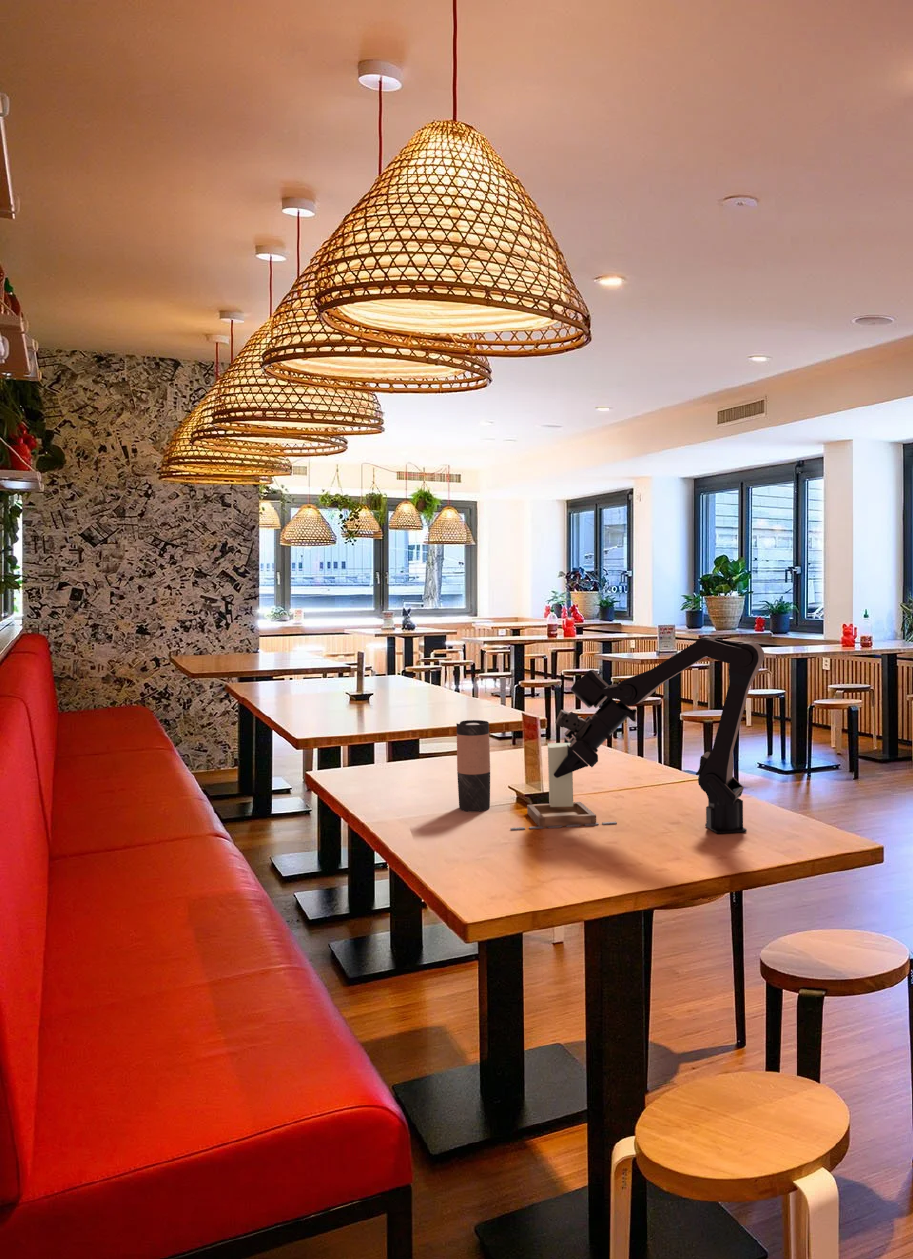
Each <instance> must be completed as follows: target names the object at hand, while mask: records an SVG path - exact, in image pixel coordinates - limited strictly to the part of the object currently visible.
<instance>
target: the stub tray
mask: <svg viewBox="0 0 913 1259" xmlns="http://www.w3.org/2000/svg"><path fill="white" fill-rule="evenodd" d="M526 809H527V810H526V811H527V812H526V814H527V815H528V816H529V817H530V819H531V820H532V821H533V822H534V823H535V824H536V826H543V827H544V828H548V826H555V825H562V827H566V825H571V824H580V826H584V824H588V823H597V814H595V813H594V811H592V810H591V809H589V808H588V807H587V806H586V805H585V804H584V803H583V802H582V801H575V802H574V801H573V807H550V803H537V804H534V803H533V804H527V805H526ZM544 828H543V829H544Z"/></svg>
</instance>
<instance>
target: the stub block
mask: <svg viewBox="0 0 913 1259" xmlns="http://www.w3.org/2000/svg"><path fill="white" fill-rule="evenodd" d="M567 744H568V745H569V746H570V744H571V743H564V742H552V743H550V742H549V743H548V742H547V765H548V766H547V769H548V802H549V803H548V804H550V807H573V802H574V782H573V781H574V780H573V779H574V777H573V774H574V771H573V772H571V773H568V774H566V775H563V776H561V777H559V778H556V777H555V776H554V773H555V771H556V770H557V768H558V767H559V765H560V764H561V763H562V761H563V760H564V758H565V757H566V755H567Z"/></svg>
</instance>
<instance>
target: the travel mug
mask: <svg viewBox="0 0 913 1259" xmlns="http://www.w3.org/2000/svg"><path fill="white" fill-rule="evenodd" d="M490 745H491V744H490V722H489V721H487V720H483V719H481V720H479V719H473V720H472V719H469V720H468V719H467V720H461V721H460V722H459V723H458V722H456V770H457V773H456V775H457V790H458V808H459V810H460V809H461V811H463V810H464V811H463V812H468V811H479V812H485V811H488V810H489V809H490V807H491V754H490V753H491V752H490V751H491V750H490Z"/></svg>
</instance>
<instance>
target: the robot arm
mask: <svg viewBox="0 0 913 1259" xmlns="http://www.w3.org/2000/svg"><path fill="white" fill-rule="evenodd" d="M705 658H710V659H711V660H712V659H713V660H716V661H719V662H722V663H725V664H728V688H727V691H726V696H725V699H724V703H723V707H722V712H721V716H720V719H719V723H718V726H717V731H716V735H715V739H714V742H713V745H712V746H713V747H712V749H711V751H706V752H705V753H704V754H702V755H700V758H699V768H698V770H697V771H696V773H695V775H696V776H698V778H697V782H698V785H699V787H700V789H701V790H702V791H703V792H704V793H705V794H706V796H707V800H708V801H707V802H708V804H707V806H705V824H704V825H705V827H706V828H707V829H710V830H711V831H713V832H714V833H715V834H731V833H732V834H733V833H744V832H747V828H745V827H744V800H743V799H740V797H742V794H743V792H744V790H745V789H744V786H743V785H742V784H741V783H740V782H739V781H738V779H736V778H735V777H734V767H735V766H734V765H735V764H734V748H735V744H736V741H737V737H738V733H739V729H740V725H741V721H742V717H743V715H744V714H743V713H744V710H745V706H746V703H747V699H748V694H749V691H750V688H751V686H752V684H753V682H754V680H755V678H756V677H757V675H758V673H759V671H760V669H761V666H762V664H763V662H764V659H765V651H764V649H763V648H762V646H761V645H760V644H758V642H755V641H744V642H741V643H739V642H737V641H736V642H734V641H730V640H725V639H718V638H714V637H712V636H709V635H708V636H703V637H702V636H701V637H700V638H698V639H696V641H695V642H694V643H692V644H690V645H689V646H687V647H685V648H684V649H682V650H680V651H679V652H677V653H675V654H674V655H672V656H671V657H669V658H667V659H666V660H664V661H663V662H661V663H660V664H658V665H656V666H655V667H652V669H651V668H650V669H649V670H646V671H643V672H641V673H639V674H636V675H634V676H633V675H632V676H631V677H628V678H626V679H622V681H620V682H619V683H618V684H617V683H614V684H610V685H609V684H608V683H607V681H605V680H604V679H603V678H602V677H601V676H600V675H599V674H598V672H597V671H596V670H595V669H589V670H588V671H587V673H585V674H584V675H583V676H581V678H579V679H578V680H576V681H575V682H574V684H573V685H572V686H571V688H570V692H572V693H573V694H574V695H575V697H576V698H578V699H579V700H580V701H581V702H582V703H583V704H584V705H585V706H586V707H587V708H589V709H590V708H592V707H594V708H595V709H597V708H598V707H599V708H598V709H597V710H596V711H595V712H594V713H593V714H592V715H587V716H586V717H585V718H582V717H579V715H578V713H576V712H573V711H570V712H569V711H566V710H563V709H560V711H559V713H558V716H557V718H556V720H555V724H556V726H558V727H560V728H564V729H567V730H566V731H565V732H564V733H563V734H564V736H565V737H566V738H565V737H563V743H571V744H570V746H569V745H568V744H567V755H566V757H565V758H564V760H563V761H562V763H561V764H560V765H559V767H558V768H557V770H556V771H555V773H554V776H555V777H556V778H559V777H561V776H563V775H566V774H568V773H571V772H573V773H574V772H575V771H578V770H581V769H583V768H588V767H591V768H593V767H594V766H595V765H596V764H597V763H598V762H599V755H598V753H597V752H598V751H599V748H600V747H601V746H602V744H603V743H604V742H605V741H606V740H607V741H609V740H610V739H611V738H612V736H611V735H612V734H613V733H614V732H616V730H617V729H618V728H619V727H620V726H621V725H622V724H624V722H625V720H627V719H630V721H632V722H633V723H637V721H638V720H637V713H638V710H637V709H636V708H635V709H632V708H630V706H632V707H633V706H635V705H637V704H640V703H642V702H644V701H646V700H647V699H648V698H649V697H650V696H651V695H652V694H654V693H655V692H656V691H657V690H658V689H659V688H660V686H662V685H663V684H664V683H665V682H667V681H669V680H670V679H672V678H674V677H676V676H677V675H678V674H680V673H682V672H684V671H685V670H686V669H688V668H690V667H692V666H694V665H696V663H698V662H700V661H702V660H704V659H705ZM607 698H608V699H607ZM615 700H617V701H618V700H619V701H618V702H617V701H615ZM604 701H605V702H604Z"/></svg>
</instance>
